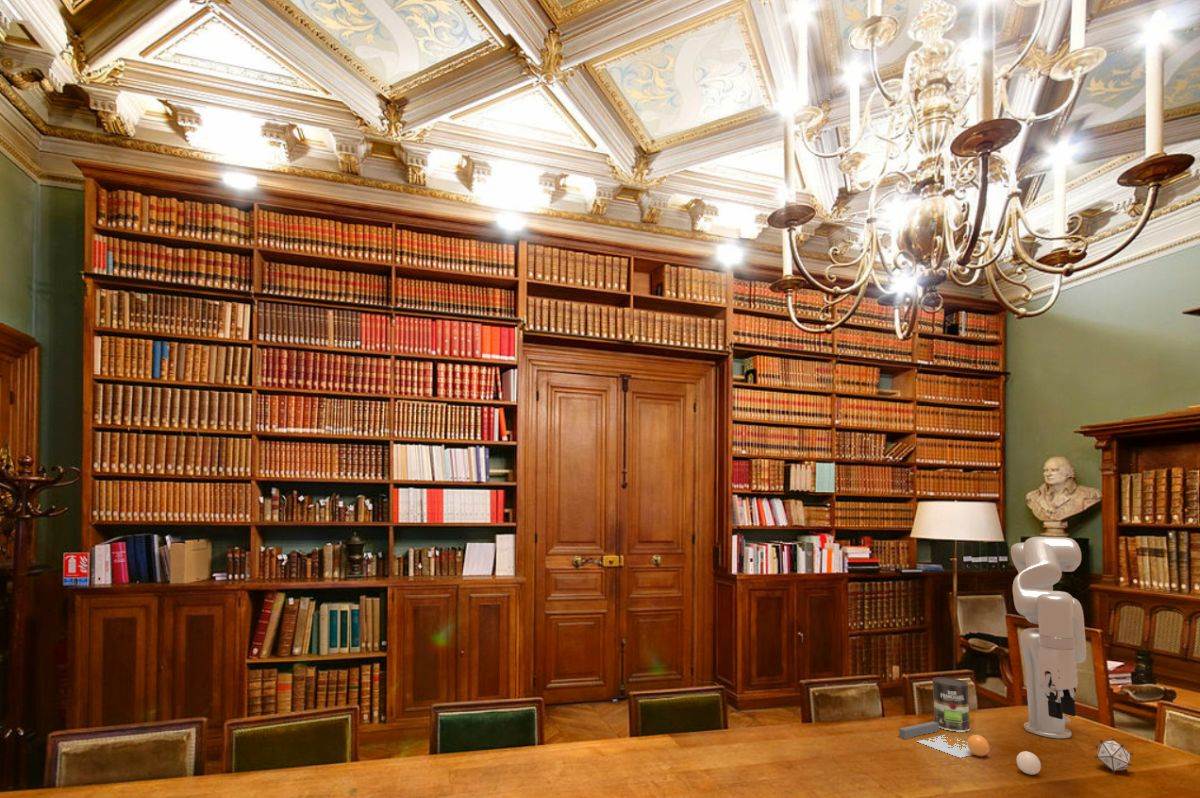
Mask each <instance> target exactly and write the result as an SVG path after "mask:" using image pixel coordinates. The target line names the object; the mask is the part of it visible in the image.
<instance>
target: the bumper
mask: <svg viewBox="0 0 1200 798" xmlns="http://www.w3.org/2000/svg"><path fill="white" fill-rule="evenodd" d="M937 731H939V732H940V728H939V723H936V722H935V721H933V720H932V721H929V722H924V723H919V724H913V725H910V726H905V727H900V728H898V734H899V738H900V737H901V739H903V738H904V739H903V740H907V738H908V739H911V738H910V737H913V738H915V737H914V736H917V737H919V736H918V735H922V736H924V735H923V734H926V735H929V734H928V733H931V734H934V733H933V732H935V733H938V732H937Z"/></svg>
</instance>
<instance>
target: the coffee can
mask: <svg viewBox="0 0 1200 798" xmlns="http://www.w3.org/2000/svg"><path fill="white" fill-rule="evenodd" d="M931 680H932V681H931V682H932V688H933V689H932V691H933V714H934V722H936V723H939V729H940V728H941V729H940V730H943V729H944V730H943V731H946V730H949V731H948V732H951V731H956V732H955V733H960V732H961V733H962V732H963V733H966V732H965V731H969V730H970V731H971V727H970V726H971V725H970V707H969V683H968V682H967V681H964V680H962V679H958V678H952V677H943V676H940V677H939V676H938V677H933V678H932V679H931ZM970 731H969V732H970Z"/></svg>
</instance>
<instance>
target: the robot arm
mask: <svg viewBox="0 0 1200 798" xmlns="http://www.w3.org/2000/svg"><path fill="white" fill-rule="evenodd" d="M1081 550H1082V549H1081V548H1080V546H1079V544H1078V542H1076V540H1075V539H1073V538H1069V537H1062V536H1061V537H1058V536H1057V537H1056V536H1032V537H1029V538H1027V539H1026V540H1025V541H1024V542H1018V543H1014V544H1013V545H1012V546H1011V548H1010V555H1011V559H1012V562H1013V565H1014V567H1015V569H1016V570H1017V572H1018V574H1017V575H1016V576H1015V577H1014V579H1013V582H1012V583H1013V584H1012V596H1013V603H1014V607H1015V610H1016V611H1017V613H1018V614H1019V615H1020V616H1023V617H1025V619H1026V620H1027V621H1028V622H1029V623H1030V624H1034V625H1038V627H1028V628H1025V629H1024V630H1022V631H1021V633H1020V637H1019V638H1020V645H1021V650H1022V655H1023V659H1024V668H1025V680H1026V693H1027V694H1026V695H1027V708H1028V721H1027V722H1024V723H1023V728H1024V730H1025V731H1026V732H1029V733H1031V734H1034V735H1037V736H1041V737H1045V738H1052V739H1069V738H1071V737H1072V731H1071V730H1070V729H1068V728H1067V727H1066V724H1069V723H1071V718H1070V717H1069V716H1071V717H1075V716H1077V714H1076V713H1077V712H1076V698H1077V697H1076V692H1077V688H1078V685H1079V682H1078V681H1079V678H1078V668H1077V664H1082V663H1084V662H1085V661H1086V659H1087V641H1086V640H1087V639H1086V632H1085V631H1086V630H1085V617H1084V616H1085V615H1084V610H1083V606H1082V604H1081V603H1080V601H1079V600H1078V599H1077V598H1075V597H1073V596H1072V595H1071V594H1070V593H1069V592H1066V591H1060V590H1054V587H1053V586H1054V585H1055V584H1057V583H1059V581H1060V580H1061V578H1062V575H1063V574H1062V572H1064V573H1065V572H1068V573H1069V572H1070V573H1071V572H1075V570H1077V568H1078V567H1079V566H1080V565H1081V562H1082V551H1081ZM1065 715H1066V716H1065Z"/></svg>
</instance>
